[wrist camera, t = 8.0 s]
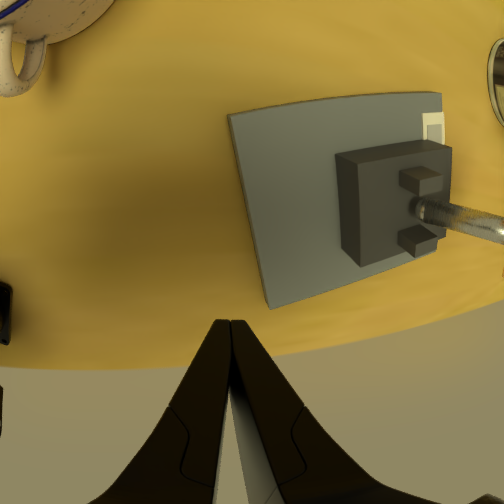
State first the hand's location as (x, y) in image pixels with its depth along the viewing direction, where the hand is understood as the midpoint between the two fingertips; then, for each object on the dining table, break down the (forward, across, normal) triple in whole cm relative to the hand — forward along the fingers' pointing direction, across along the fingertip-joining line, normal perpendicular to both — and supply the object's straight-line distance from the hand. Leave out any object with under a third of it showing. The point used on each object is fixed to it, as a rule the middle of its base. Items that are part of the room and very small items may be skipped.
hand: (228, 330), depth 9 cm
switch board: (+14, -9, 0) cm, 17 cm away
